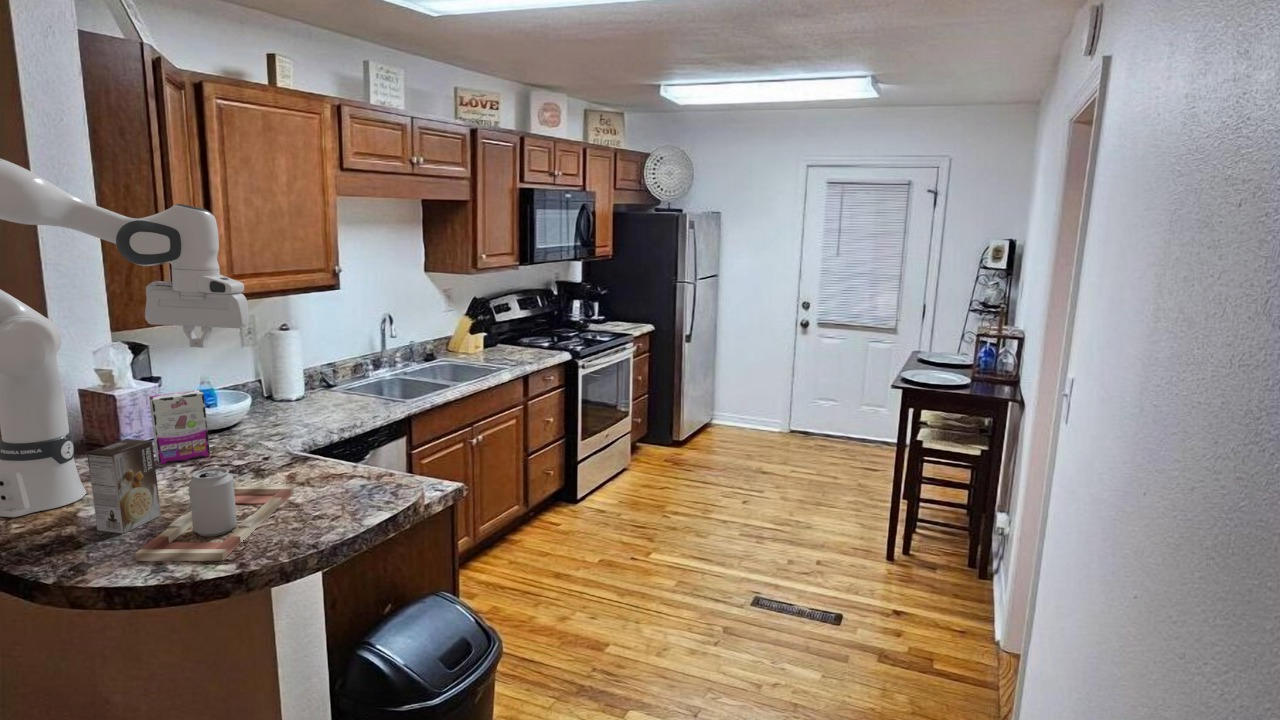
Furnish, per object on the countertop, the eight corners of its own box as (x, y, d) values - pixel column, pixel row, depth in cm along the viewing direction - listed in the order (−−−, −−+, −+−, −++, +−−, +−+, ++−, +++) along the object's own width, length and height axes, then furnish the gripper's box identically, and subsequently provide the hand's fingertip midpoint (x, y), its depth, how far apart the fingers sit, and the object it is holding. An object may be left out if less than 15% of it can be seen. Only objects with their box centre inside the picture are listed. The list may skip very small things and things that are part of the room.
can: (200, 523, 152) (195, 466, 150) (241, 521, 154) (237, 464, 152) (187, 539, 145) (181, 479, 143) (230, 536, 147) (225, 477, 144)
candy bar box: (205, 451, 196) (200, 388, 192) (210, 456, 192) (205, 392, 189) (154, 459, 188) (148, 395, 185) (158, 465, 185) (152, 399, 181)
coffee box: (135, 513, 157) (126, 437, 153) (162, 516, 155) (154, 440, 152) (95, 531, 148) (85, 451, 145) (123, 534, 147) (114, 454, 143)
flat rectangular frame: (136, 560, 136) (134, 550, 136) (223, 492, 168) (222, 484, 168) (223, 560, 137) (222, 550, 137) (293, 493, 169) (293, 484, 169)
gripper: (136, 280, 159) (139, 346, 161) (238, 286, 160) (239, 351, 162) (154, 279, 165) (156, 342, 167) (251, 284, 167) (253, 347, 169)
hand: (198, 347), depth 165 cm, fingers closed
